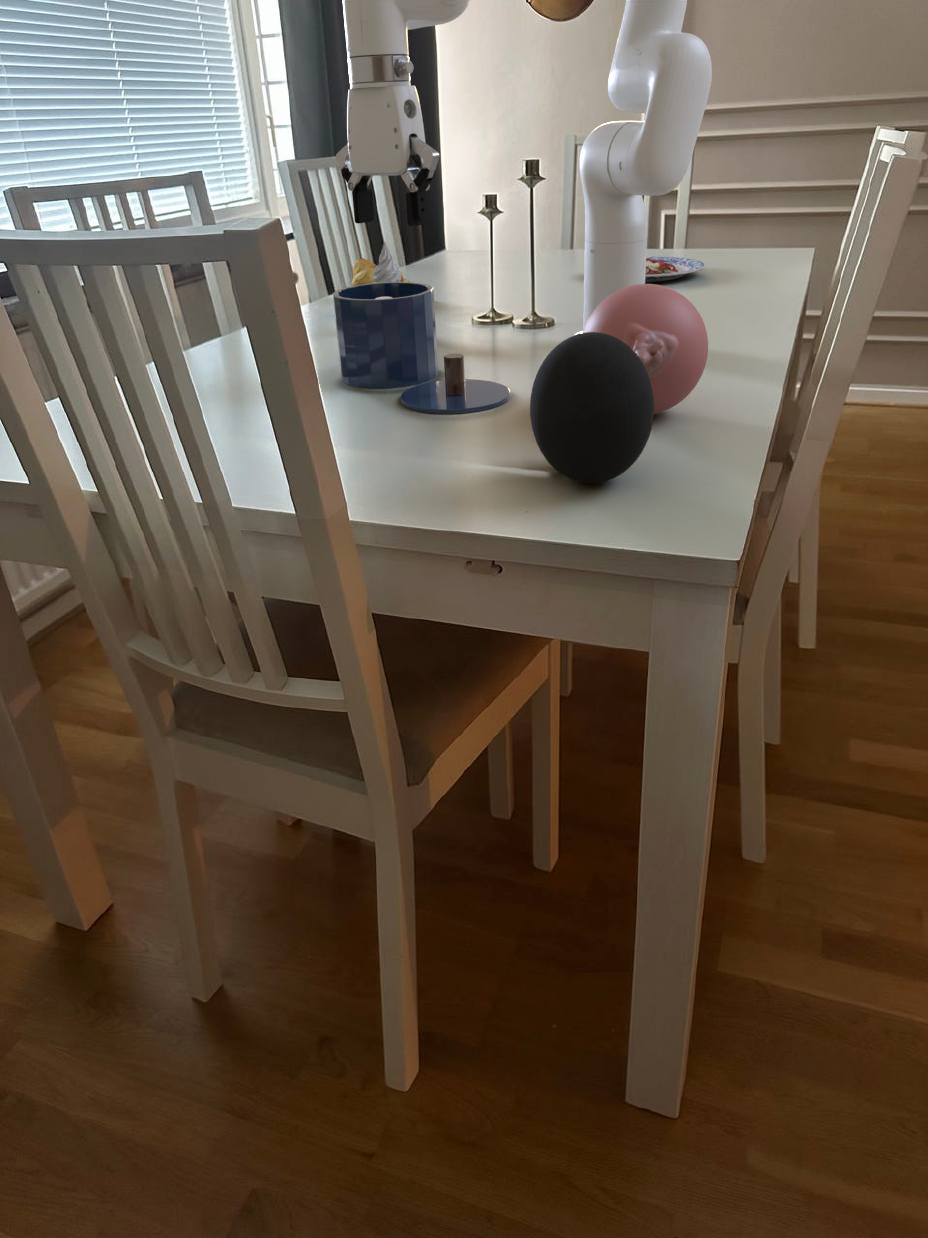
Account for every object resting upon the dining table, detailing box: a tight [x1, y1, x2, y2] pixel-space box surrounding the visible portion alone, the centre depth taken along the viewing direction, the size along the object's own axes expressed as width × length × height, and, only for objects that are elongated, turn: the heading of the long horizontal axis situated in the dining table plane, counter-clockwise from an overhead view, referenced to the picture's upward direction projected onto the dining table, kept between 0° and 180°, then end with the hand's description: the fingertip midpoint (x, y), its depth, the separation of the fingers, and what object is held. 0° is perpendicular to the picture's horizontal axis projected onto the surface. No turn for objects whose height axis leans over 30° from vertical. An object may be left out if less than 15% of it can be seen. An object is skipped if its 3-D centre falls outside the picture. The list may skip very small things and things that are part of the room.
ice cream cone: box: [373, 240, 402, 283], centre depth 162 cm, size 5×5×15 cm
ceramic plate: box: [645, 255, 706, 283], centre depth 203 cm, size 26×26×3 cm
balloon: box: [582, 283, 709, 415], centre depth 111 cm, size 15×20×15 cm
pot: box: [332, 281, 439, 390], centre depth 133 cm, size 14×14×12 cm
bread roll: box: [350, 257, 410, 287], centre depth 190 cm, size 13×10×8 cm
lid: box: [400, 352, 511, 415], centre depth 123 cm, size 15×15×6 cm
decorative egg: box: [529, 332, 655, 484], centre depth 93 cm, size 12×12×15 cm
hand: (390, 223), depth 123 cm, fingers open, 9 cm apart
